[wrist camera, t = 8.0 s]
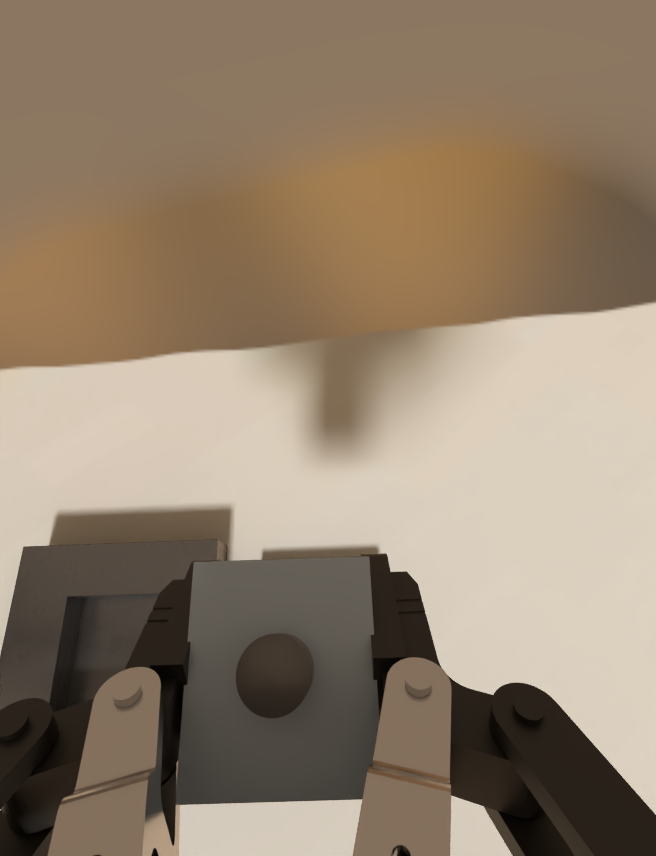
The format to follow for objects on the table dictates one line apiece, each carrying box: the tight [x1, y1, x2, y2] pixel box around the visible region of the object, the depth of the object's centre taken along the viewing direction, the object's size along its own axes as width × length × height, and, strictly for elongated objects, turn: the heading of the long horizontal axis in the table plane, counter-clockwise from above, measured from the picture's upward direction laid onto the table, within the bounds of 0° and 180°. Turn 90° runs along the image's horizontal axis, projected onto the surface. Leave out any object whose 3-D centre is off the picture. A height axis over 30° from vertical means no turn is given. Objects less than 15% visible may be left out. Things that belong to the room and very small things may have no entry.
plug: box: [176, 556, 379, 805], centre depth 13 cm, size 4×4×8 cm
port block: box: [0, 539, 227, 712], centre depth 28 cm, size 12×12×2 cm
